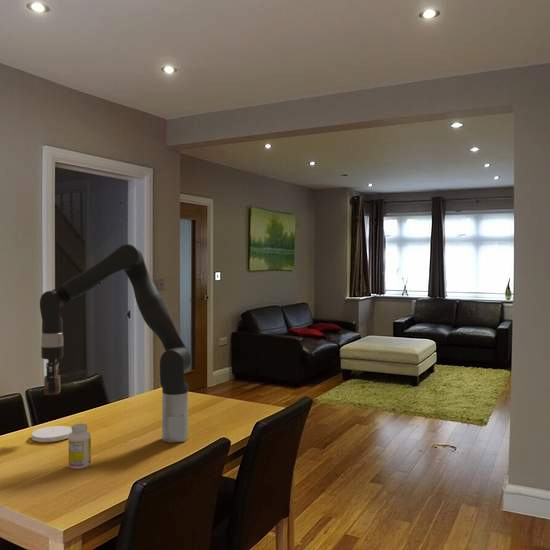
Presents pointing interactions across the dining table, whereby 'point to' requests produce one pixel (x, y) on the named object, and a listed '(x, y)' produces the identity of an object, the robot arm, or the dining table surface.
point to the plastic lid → (51, 433)
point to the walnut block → (57, 385)
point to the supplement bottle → (79, 447)
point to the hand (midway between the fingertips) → (52, 390)
